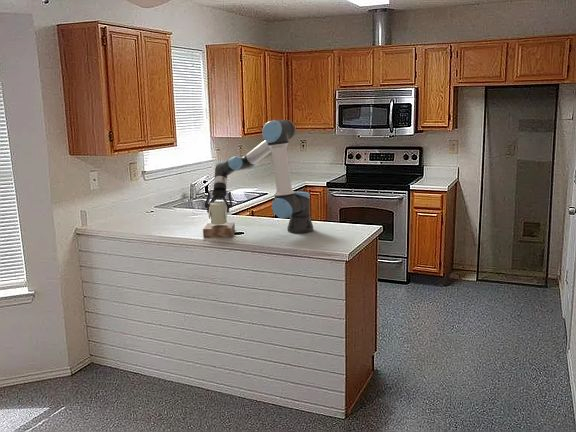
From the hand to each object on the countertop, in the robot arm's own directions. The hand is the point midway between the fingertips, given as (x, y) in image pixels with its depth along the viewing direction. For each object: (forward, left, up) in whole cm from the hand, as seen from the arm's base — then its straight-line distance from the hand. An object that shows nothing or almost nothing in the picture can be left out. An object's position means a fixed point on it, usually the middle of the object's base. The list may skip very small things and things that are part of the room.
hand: (217, 217), depth 321 cm
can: (0, -3, -4) cm, 5 cm away
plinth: (0, -3, -11) cm, 11 cm away
